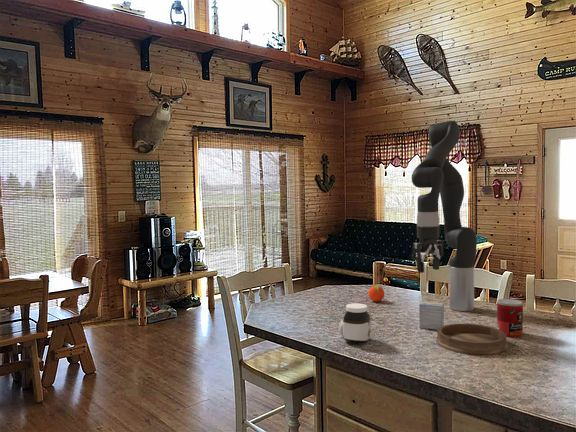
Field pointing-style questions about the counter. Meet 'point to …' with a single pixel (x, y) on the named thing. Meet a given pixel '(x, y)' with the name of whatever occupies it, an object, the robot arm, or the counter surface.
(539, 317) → the counter surface
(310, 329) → the counter surface
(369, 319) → the spread jar
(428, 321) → the medicine box
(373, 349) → the counter surface
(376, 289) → the clementine
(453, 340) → the round wooden tray
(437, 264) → the robot arm
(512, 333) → the canned food
